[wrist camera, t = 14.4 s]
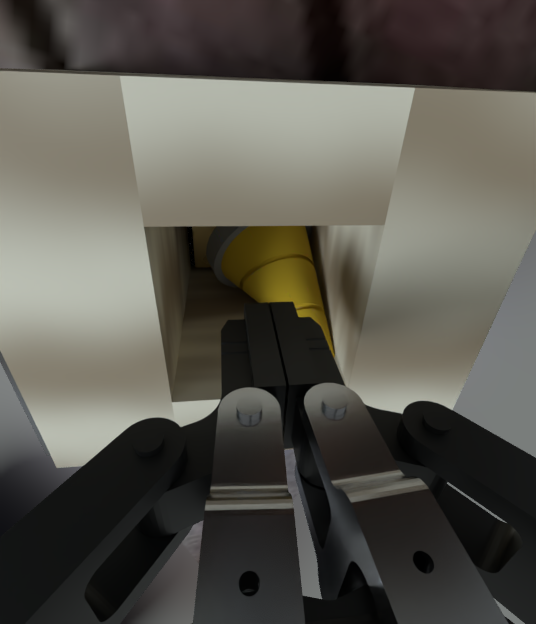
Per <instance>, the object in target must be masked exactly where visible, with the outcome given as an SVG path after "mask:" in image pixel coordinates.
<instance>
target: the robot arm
mask: <svg viewBox="0 0 536 624" xmlns="http://www.w3.org/2000/svg"><path fill="white" fill-rule="evenodd" d="M221 384H222V394H221V399H220V402H219V404H218V406H217V407H216V409H215V410H214V411H213V412H212V413H211V414H209V415H208V416H207V417H205V418H203V419H201V420H199V421H197V422H194V423H191V424H188V425H185V426H183V427H180V426H179V425H178V424H177V423H176V422H174V421H172V420H170V419H167V418H160V417H154V418H148V419H144V420H141V421H139V422H136V423H135V424H133V425H131V426H130V427H128V428H127V429H126V430H125V431H123V432H122V433H121V434H120V435H119V436H118V437H116V438H115V439H114V440H113V441H112V442H111V443H109V444H108V445H107V446H106V447H105V448H104V449H102V450H101V451H100V452H99V453H98V454H97V455H95V456H94V457H93V458H92V459H91V460H90V461H88V462H87V463H86V464H85V465H84V466H83V467H81V468H80V469H79V470H78V471H77V472H76V473H74V474H73V475H72V476H71V477H70V478H69V479H67V480H66V481H65V482H64V483H63V484H62V485H60V486H59V487H58V488H57V489H56V490H55V491H53V492H52V493H51V494H50V495H49V496H48V497H46V498H45V499H44V500H43V501H42V502H41V503H40V504H38V505H37V506H36V507H35V508H34V509H33V510H31V511H30V512H29V513H28V514H27V515H25V516H24V517H23V518H22V519H21V520H20V521H18V522H17V523H16V524H15V525H14V526H13V527H11V528H10V529H9V530H8V531H7V532H6V533H4V534H3V535H2V536H1V537H0V624H120V623H121V622H122V620H123V619H124V618H125V616H126V615H127V614H128V612H129V611H130V610H131V608H132V607H133V606H134V605H135V603H136V602H137V601H138V599H139V597H140V596H141V595H142V594H143V593H144V591H145V590H146V589H147V587H148V586H149V585H150V583H151V582H152V581H153V579H154V578H155V577H156V575H157V574H158V572H159V571H160V570H161V569H162V567H163V566H164V565H165V563H166V562H167V561H168V559H169V558H170V557H171V555H172V554H173V553H174V552H175V550H176V549H177V548H178V546H179V545H180V544H181V542H182V541H183V540H184V538H185V537H186V536H187V534H188V533H189V531H190V530H191V528H192V526H193V525H194V524H196V523H198V522H200V521H202V520H204V522H203V531H202V541H201V550H200V560H199V570H198V580H197V589H196V599H195V609H194V618H193V623H192V624H514V623H513V622H511V621H510V620H509V619H507V618H506V617H505V616H504V615H503V614H502V612H501V610H500V608H499V607H498V605H497V603H496V602H495V600H494V598H495V599H496V600H497V601H498V602H500V603H501V604H502V605H503V606H504V607H506V608H507V609H508V610H509V611H510V612H512V613H513V614H514V615H515V616H517V617H518V618H519V619H520V620H521V621H523V622H524V623H525V624H536V458H535V457H533V456H531V455H530V454H528V453H526V452H525V451H523V450H521V449H519V448H517V447H516V446H514V445H512V444H510V443H509V442H507V441H505V440H503V439H502V438H500V437H498V436H497V435H494V434H493V433H491V432H490V431H488V430H486V429H484V428H482V427H481V426H479V425H477V424H476V423H474V422H472V421H470V420H469V419H467V418H465V417H463V416H462V415H460V414H458V413H456V412H454V411H453V410H451V409H449V408H447V407H445V406H443V405H441V404H438V403H435V402H431V401H416V402H412V403H410V404H409V405H408V406H406V408H405V409H404V411H403V414H401V413H396V412H391V411H386V410H381V409H377V408H373V407H370V406H368V405H366V404H364V403H363V401H362V399H361V398H360V397H359V395H358V394H357V393H355V392H354V391H353V390H351V389H350V388H348V387H346V386H345V384H344V381H343V379H342V377H341V374H340V372H339V369H338V367H337V364H336V362H335V359H334V357H333V355H332V352H331V350H330V347H329V345H328V342H327V340H326V337H325V335H324V332H323V330H322V328H321V326H320V325H319V324H318V323H317V322H316V321H314V320H313V319H312V318H311V317H298V314H297V311H296V308H295V305H294V303H293V301H291V302H269V304H268V302H262V303H244V319H239V320H227V322H226V323H225V325H224V326H223V328H222V329H221ZM292 448H294V453H295V458H296V465H295V479H296V483H297V487H298V490H299V494H300V498H301V501H302V505H303V508H304V512H305V516H306V520H307V523H308V526H309V530H310V534H311V538H312V542H313V545H314V549H315V553H316V558H317V565H318V578H319V585H320V592H321V597H322V599H317V598H312V597H307V596H302V587H301V577H300V567H299V557H298V547H297V537H296V528H295V517H294V508H293V501H292V496H291V494H290V493H289V492H288V487H287V477H286V466H285V455H284V449H292ZM447 482H449V483H450V484H452V485H453V486H455V487H456V488H458V489H459V490H461V491H462V492H463V493H465V494H466V495H468V496H469V497H471V498H472V499H474V500H475V501H477V502H478V503H479V504H481V505H482V506H484V507H485V508H487V509H488V510H489V511H491V512H492V513H494V514H495V515H497V516H498V517H500V518H501V519H503V520H504V521H505V522H507V523H505V522H502V521H500V520H498V519H497V518H495V517H494V516H492V515H491V514H489V513H488V512H486V511H485V510H483V509H482V508H481V507H479V506H478V505H476V504H475V503H473V502H472V501H471V500H469V499H468V498H466V497H465V496H463V495H462V494H461V493H459V492H458V491H456V490H455V489H453V488H452V487H451V486H449V485H448V484H447Z"/></svg>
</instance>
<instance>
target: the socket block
mask: <svg viewBox="0 0 536 624" xmlns="http://www.w3.org/2000/svg"><path fill="white" fill-rule="evenodd" d="M187 226H312V233H311V237H310V240H309V245H310V249H311V253H312V258H313V262H314V267H315V271H316V275H317V280H318V284H319V289H320V293H321V297H322V302H323V306H324V311H325V316H326V319H327V324H328V328H329V332H330V337H331V341H332V346H333V350H334V355H335V356H334V359H335V362H336V364H337V367H338V369H339V372H340V374H341V377H342V379H343V381H344V384H345V386H346V387H348V388H350V389H351V390H353V391H354V392H355V393H357V394H358V395H359V397H360V398H361V399H362V401H363V403H364V404H366V405H368V406H370V407H373V408H377V409H381V410H386V411H391V412H396V413H401V414H403V411H404V409H405V408H406V406H408V405H409V404H410V403H412V402H416V401H431V402H435V403H438V404H441V405H443V406H445V407H447V408H449V409H451V410H453V407H454V405H455V403H456V401H457V399H458V397H459V395H460V392H461V390H462V388H463V386H464V384H465V381H466V380H467V377H468V375H469V373H470V371H471V369H472V367H473V365H474V362H475V360H476V358H477V356H478V354H479V351H480V349H481V347H482V345H483V343H484V341H485V339H486V336H487V334H488V332H489V330H490V328H491V325H492V324H493V321H494V319H495V317H496V315H497V313H498V311H499V309H500V306H501V304H502V302H503V300H504V298H505V296H506V293H507V291H508V289H509V287H510V285H511V283H512V281H513V278H514V276H515V274H516V272H517V270H518V268H519V266H520V263H521V261H522V259H523V257H524V255H525V253H526V250H527V248H528V246H529V244H530V242H531V240H532V237H533V235H534V233H535V231H536V92H530V91H512V90H494V89H476V88H459V87H441V86H423V85H406V84H382V83H358V82H335V81H311V80H287V79H264V78H240V77H216V76H192V75H169V74H145V73H121V72H98V71H74V70H40V69H0V362H1V364H2V366H3V368H4V370H5V372H6V374H7V376H8V378H9V380H10V382H11V384H12V386H13V389H14V391H15V392H16V395H17V397H18V399H19V401H20V403H21V405H22V407H23V409H24V411H25V413H26V415H27V417H28V419H29V421H30V423H31V425H32V427H33V429H34V431H35V433H36V435H37V437H38V439H39V441H40V443H41V445H42V447H43V449H44V451H45V453H46V455H47V456H49V455H51V457H52V459H53V461H54V463H55V465H56V467H57V468H62V467H75V466H84V465H85V464H86V463H87V462H88V461H90V460H91V459H92V458H93V457H94V456H95V455H97V454H98V453H99V452H100V451H101V450H102V449H104V448H105V447H106V446H107V445H108V444H109V443H111V442H112V441H113V440H114V439H115V438H116V437H118V436H119V435H120V434H121V433H122V432H123V431H125V430H126V429H127V428H128V427H130V426H131V425H133V424H135V423H136V422H139V421H141V420H144V419H148V418H154V417H160V418H167V419H170V420H172V421H174V422H176V423H177V424H178V425H179V426H180V427H183V426H185V425H188V424H191V423H194V422H197V421H199V420H201V419H203V418H205V417H207V416H208V415H209V414H211V413H212V412H213V411H214V410H215V409H216V407H217V406H218V404H219V402H220V399H221V394H222V384H221V329H222V328H223V326H224V325H225V323H226V322H227V320H239V319H244V303H259V302H257V301H256V300H255V299H253V298H252V297H251V296H249V295H248V294H247V293H246V292H244V291H243V290H242V289H240V288H239V287H230V286H227V285H225V284H223V283H221V282H220V281H219V280H218V279H217V277H216V275H215V273H214V271H213V270H212V268H211V267H197V268H195V266H191V262H190V251H189V240H188V229H187ZM292 449H294V448H292ZM284 450H287V449H284Z"/></svg>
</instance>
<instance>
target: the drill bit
mask: <svg viewBox="0 0 536 624" xmlns="http://www.w3.org/2000/svg"><path fill="white" fill-rule="evenodd" d="M311 233H312V226H216V227H215V228H214V230H213V232H212V234H211V235H210V237H209V240H208V243H207V248H206V256H207V260H208V262H209V264H210V266H211V268H212V270H213V271H214V273H215V275H216V277H217V279H218V280H219V281H220V282H221V283H223V284H225V285H227V286H230V287H239V288H240V289H242V290H243V291H244V292H246V293H247V294H248V295H249V296H251V297H252V298H253V299H255V300H256V301H257V302H259V303H262V302H268V304H269V302H291V301H293V303H294V305H295V308H296V311H297V314H298V317H311V318H312V319H313V320H314V321H316V322H317V323H318V324H319V325H320V326H321V328H322V330H323V332H324V335H325V337H326V340H327V342H328V345H329V347H330V350H331V352H332V355H333V357H334V356H335V355H334V350H333V346H332V341H331V337H330V332H329V328H328V324H327V319H326V316H325V311H324V306H323V302H322V297H321V293H320V289H319V284H318V280H317V275H316V271H315V267H314V262H313V258H312V253H311V249H310V245H309V240H310V237H311Z"/></svg>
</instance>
